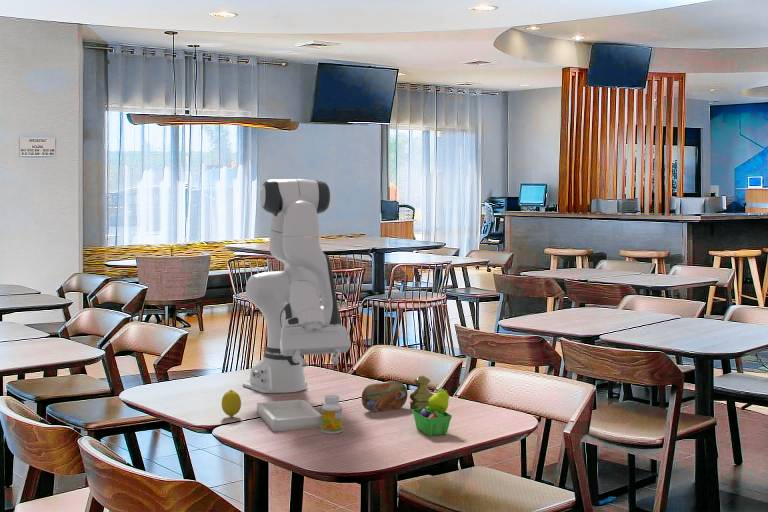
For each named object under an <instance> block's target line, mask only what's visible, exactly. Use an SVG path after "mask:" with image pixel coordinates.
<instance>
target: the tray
mask: <svg viewBox="0 0 768 512" xmlns="http://www.w3.org/2000/svg"><path fill="white" fill-rule="evenodd" d="M256 413H257V415H258V416H259V417H260V418H261V419H262V420H263V421H264V422H265V424H266V425H267V426H268V427H269V428H270V429H271V430H272V432H280V431H281V432H282V431H293V430H305V429H314V428H316V429H317V428H322V413H320V412H319V411H318V410H316V409H315V408H314V407H313V406H311V404H309V403H308V402H307V401H306V400H305V399H304V398H303V399H289V400H279V401H266V402H265V401H264V402H257V403H256Z"/></svg>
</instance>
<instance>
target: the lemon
mask: <svg viewBox="0 0 768 512" xmlns="http://www.w3.org/2000/svg"><path fill="white" fill-rule="evenodd" d="M241 406H242V400H241V396H240V395H239V393H238V392H236V391H234V390H233V389H229V391H227V392H225V393H224V394H223V396H222V398H221V409H222V412H223V413H224V414H225V415H227V416H229V417H230V418H233V417H234V416H235V415H236V414H238V413H239V412H240V410H241Z"/></svg>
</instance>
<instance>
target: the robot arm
mask: <svg viewBox="0 0 768 512" xmlns="http://www.w3.org/2000/svg"><path fill="white" fill-rule="evenodd" d="M331 196H332V195H331V190H330V186H329V185H328V183H327V182H325V181H322V180H318V179H316V180H312V179H305V178H283V179H282V178H281V179H276V178H274V179H273V178H272V179H268V180H265V182H263V183H262V185H261V189H260V192H259V201H260V204H261V207H262V209H263V210H264V211H266V212H268V213H270V214H271V215H272V216H271V219H270V220H271V221H270V229H269V230H270V231H269V249H268V250H269V252H270V254H271V256H272V257H273V258H274V259H276V260H278V261H279V262H282V263H283V270H279V271H275V270H274V271H264V272H263V271H262V272H259V273H256V274H252V275H250V277H249V278H248V279H247V281H246V285H245V294H246V297H247V299H248V301H250V302H251V303H252V304H253V305H254V306H255V307H257V309H259V311H260V312H261V313H262V316H263V318H264V320H265V324H266V331H267V333H266V334H267V335H266V336H267V346H266V347H262V349H263V350H261V352H264V354H263V358H261V360H259V361H258V362H257V363H256V364H254V365H253V366H252V367H251V368H250V369H251V370H250V374H249V375H250V376H249V380H246V381H243V382H242V386H243V387H245V388H248V389H250V388H251V390H254V391H257V392H259V393H262V394H273V393H277V394H278V393H279V394H280V393H296V392H302V391H305V390H307V388H308V387H307V385H308V383H307V381H306V377H305V376H306V375H305V368H306V367H307V359H306V358H303V356H311V355H326V354H327V355H328V354H333V355H334V356H333V357H332V359H331V363H332V365H333V366H335V365H336V366H338V365H339V362H340V361H339V360H340V359H339V356H340V354H343V353H348V351H349V349H350V347H351V341H350V337H349V335H348V330H347V327H346V326H345V325H343V324H342V319H341V313H340V311H339V306H338V305H339V304H338V301H337V293H336V288H335V282H334V281H335V280H334V275H333V269H332V264H331V260H330V258H329V255H327V254H325V252H323V250H322V247H321V243H320V226H319V216H318V215H319V214H323V213H325V212H326V211H327V210H328V209H329V206H330V204H331V199H332V197H331Z"/></svg>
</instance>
